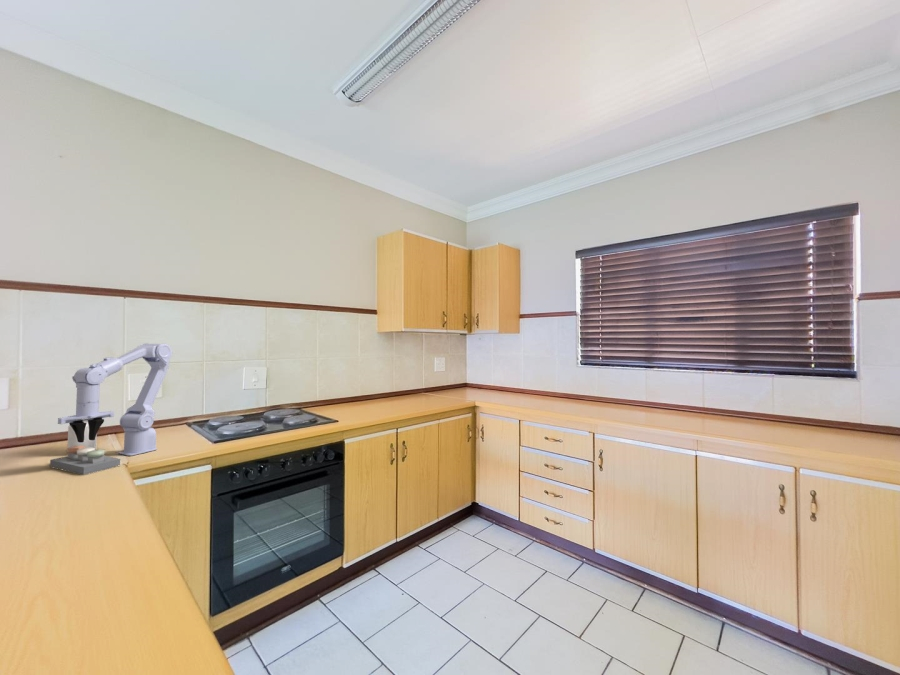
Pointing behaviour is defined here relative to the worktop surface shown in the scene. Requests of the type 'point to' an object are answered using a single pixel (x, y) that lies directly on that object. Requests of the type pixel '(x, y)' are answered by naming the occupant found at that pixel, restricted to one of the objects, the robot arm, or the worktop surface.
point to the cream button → (83, 453)
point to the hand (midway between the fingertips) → (86, 440)
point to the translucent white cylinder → (87, 443)
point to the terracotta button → (73, 451)
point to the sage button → (95, 456)
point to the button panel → (83, 464)
